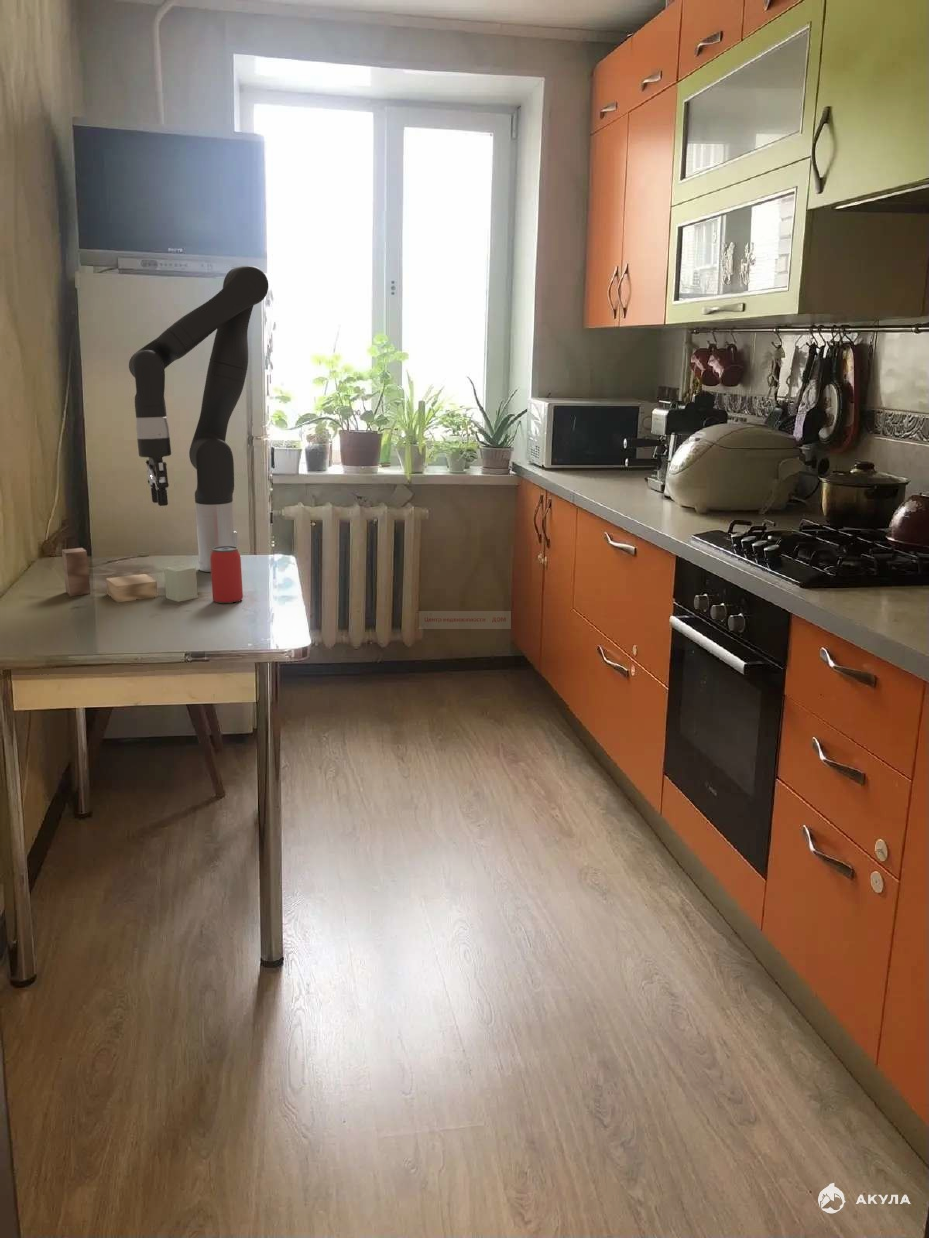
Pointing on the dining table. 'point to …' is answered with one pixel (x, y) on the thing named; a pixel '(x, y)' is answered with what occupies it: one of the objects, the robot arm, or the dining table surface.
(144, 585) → the oak base block
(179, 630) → the dining table surface
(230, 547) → the beer can
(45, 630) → the dining table surface
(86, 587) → the walnut pillar
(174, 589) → the sage green block
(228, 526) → the robot arm
